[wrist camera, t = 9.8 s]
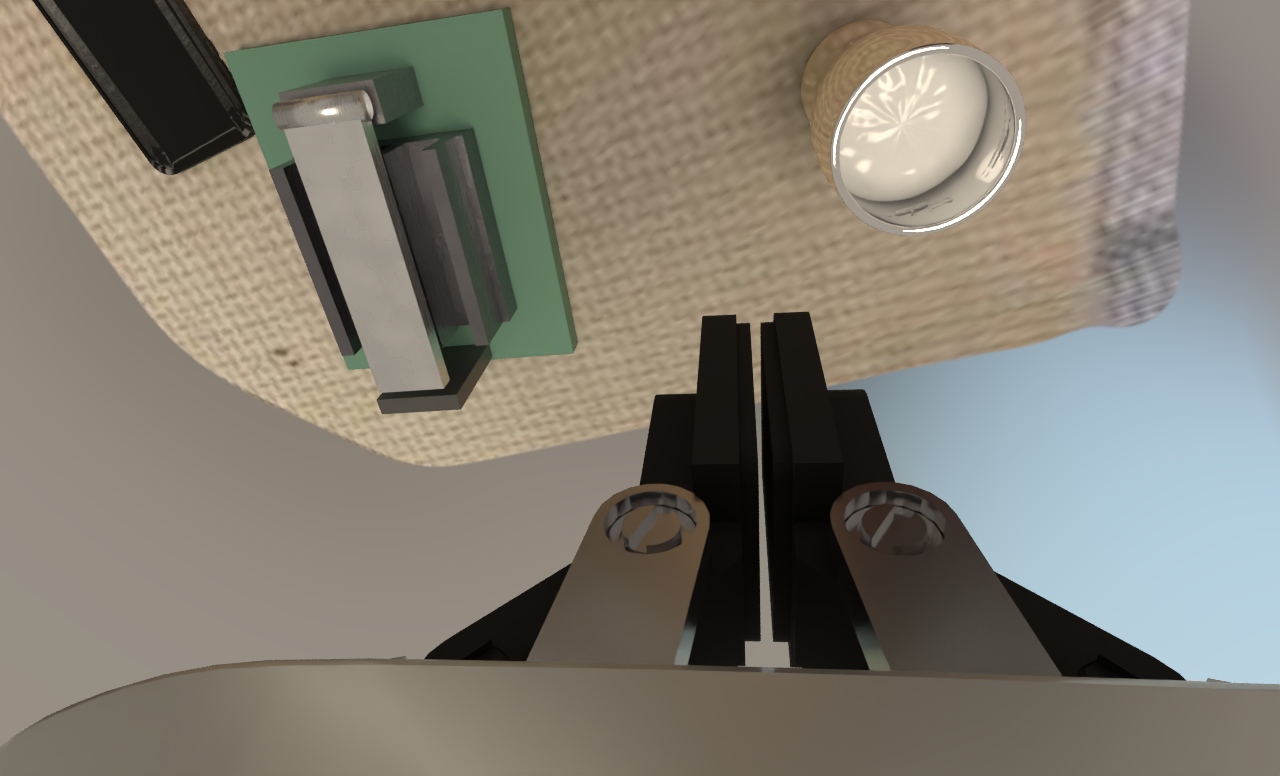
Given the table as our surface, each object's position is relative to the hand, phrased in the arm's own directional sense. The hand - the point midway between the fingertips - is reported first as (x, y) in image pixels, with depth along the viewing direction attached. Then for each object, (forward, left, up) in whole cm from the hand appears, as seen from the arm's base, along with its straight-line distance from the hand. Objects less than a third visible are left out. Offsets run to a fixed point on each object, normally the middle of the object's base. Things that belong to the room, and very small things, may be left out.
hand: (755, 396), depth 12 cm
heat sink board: (+4, -20, -32) cm, 37 cm away
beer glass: (0, +6, -32) cm, 32 cm away
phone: (-8, -34, -32) cm, 47 cm away
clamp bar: (+5, -20, -25) cm, 32 cm away
